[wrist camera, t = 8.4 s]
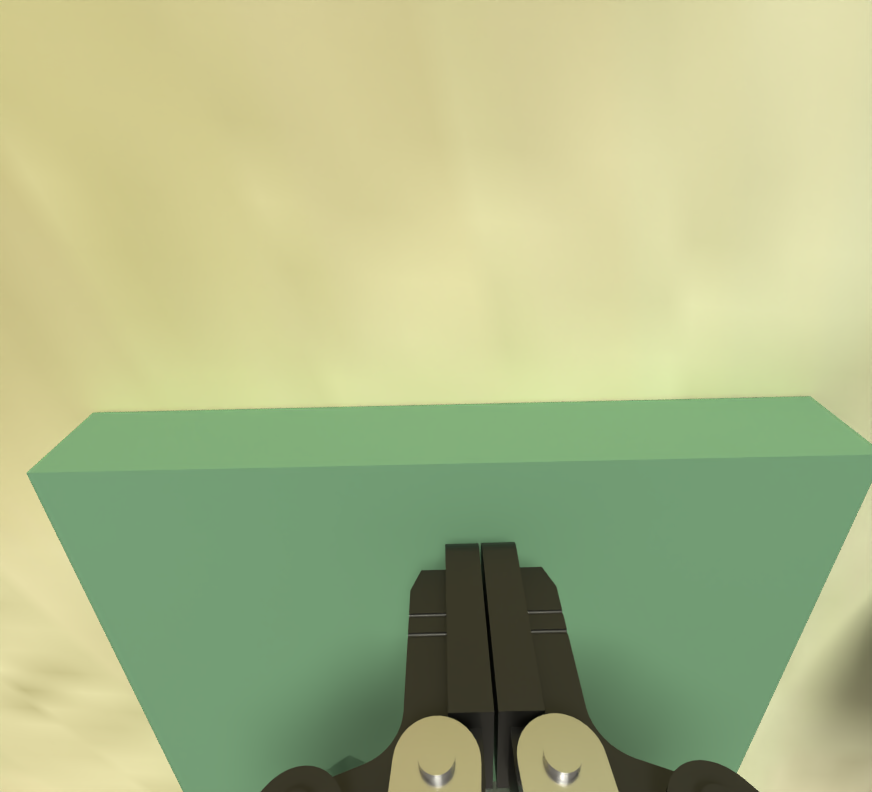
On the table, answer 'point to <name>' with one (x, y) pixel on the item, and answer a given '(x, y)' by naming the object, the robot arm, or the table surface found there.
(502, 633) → the robot arm
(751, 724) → the putting mat
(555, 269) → the table surface
